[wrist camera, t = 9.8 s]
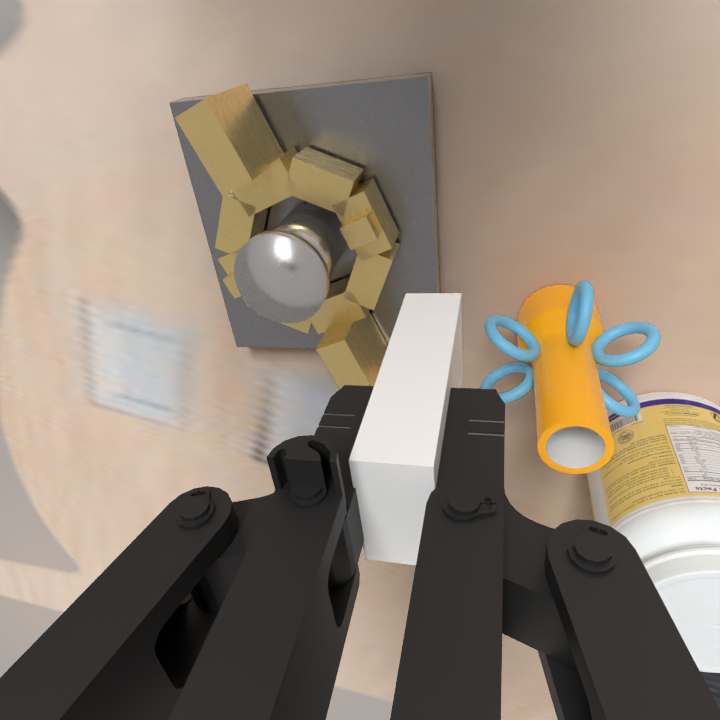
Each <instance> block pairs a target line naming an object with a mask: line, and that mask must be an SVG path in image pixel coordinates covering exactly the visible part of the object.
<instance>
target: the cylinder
mask: <svg viewBox="0 0 720 720" xmlns="http://www.w3.org/2000/svg"><path fill="white" fill-rule="evenodd" d="M496 326H502V327H505V328H507V329H509V330H511V331H513V332H514V333H515V334H517V336H518V347H516V346H515V345H513V344H511V343H510V342H509V341H507V340H506V339H505V338H504V337H503V336H502V335H501V334H500V332H499V331H498V329H497V327H496ZM485 331H486V334H487V336H488V337H489V339H490V340H491V341H492V343H493V344H494V345H495V346H496V347H497V348H498V349H500V350H501V351H502V352H504V353H505V354H507V355H508V356H510V357H512V358H514V359H517V360H520V361H523V362H513V363H509V364H506V365H503V366H501V367H499V368H497V369H495V370H494V371H492V372H491V373H490V374H489V375H488V376H487V377H486V378H485V379H484V381H483V382H482V384H481V387H480V389H491V388H492V386H493V385H494V384H495V383H496V382H497V381H498V380H499V379H501V378H502V377H504V376H506V375H508V374H511V373H516V372H522V373H525V374H526V377H525V379H524V380H523V381H522V383H521V384H519V385H518V386H517V387H515V388H514V389H512V390H510V391H507V392H504V393H498V394H499V396H500V397H501V399H502V400H503V402H504V403H505V404H506V403H509V402H512V401H515V400H517V399H519V398H521V397H522V396H524V395H525V394H526V393H528V392H529V391H530V390H531V389H532V387H533V386H534V395H535V412H536V429H537V446H538V453H539V455H540V457H541V459H542V460H543V461H544V463H546V464H547V465H548V466H549V467H551V468H553V469H555V470H557V471H560V472H563V473H568V474H583V473H589V472H592V471H595V470H597V469H599V468H601V467H602V466H604V465H605V464H606V463H607V462H608V461H609V460H610V459H611V457H612V455H613V453H614V441H613V436H612V432H611V428H610V423H609V419H608V414H607V410H606V409H608V410H609V411H611V412H613V413H615V414H617V415H619V416H622V417H634V416H636V415H637V414H638V413H639V411H640V403H639V400H638V398H637V396H636V395H635V393H634V392H633V391H632V390H631V388H630V387H629V386H628V385H627V384H626V383H624V382H623V381H622V380H621V379H619V378H618V377H617V376H615V375H614V374H612V373H610V372H608V371H606V370H603V369H598V368H597V363H598V364H600V365H603V366H607V367H622V366H627V365H631V364H634V363H636V362H639V361H641V360H643V359H644V358H646V357H648V356H649V355H650V354H652V353H653V352H654V351H655V350H656V348H657V347H658V345H659V343H660V339H661V336H660V332H659V330H658V329H657V328H656V327H655V326H653V325H652V324H649V323H645V322H629V323H624V324H621V325H618V326H615V327H613V328H611V329H609V330H607V331H605V332H604V329H603V325H602V321H601V318H600V314H599V310H598V307H597V305H596V303H595V301H594V291H593V286H592V284H591V283H590V282H589V281H587V280H582V281H580V282H579V283H578V284H577V285H576V287H574V286H569V285H551V286H548V287H544V288H542V289H540V290H538V291H536V292H534V293H533V294H532V295H530V296H529V297H528V298H527V299H526V300H525V301H524V303H523V304H522V306H521V308H520V310H519V313H518V318H517V321H516V320H514V319H512V318H510V317H507V316H503V315H493V316H490V317H489V318H488V319H487V320H486V322H485ZM634 333H639V334H644V335H646V336H647V339H646V341H645V342H644V343H643V344H642V345H641V346H640V347H638V348H636V349H635V350H632V351H630V352H627V353H624V354H619V355H608V354H605V353H604V349H605V346H606V345H607V344H608V343H610V342H611V341H613V340H614V339H616V338H618V337H621V336H624V335H627V334H634ZM600 380H601V381H604V382H606V383H607V384H609V385H610V386H612V387H613V388H614V389H615V390H617V391H618V392H619V393H620V394H621V396H622V397H623V398H624V399H625V401H626V403H627V405H628V406H626V405H623V404H621V403H619V402H617V401H616V400H614V399H613V398H611V397H610V396H609V395H608V394H607V393H606V392H605V391H604V390H603V389H602V388H601V383H600Z"/></svg>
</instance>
